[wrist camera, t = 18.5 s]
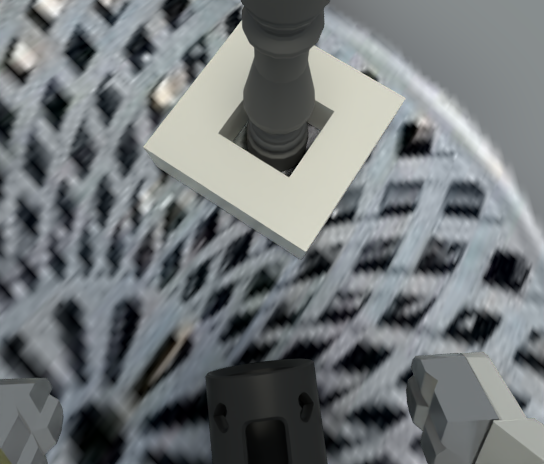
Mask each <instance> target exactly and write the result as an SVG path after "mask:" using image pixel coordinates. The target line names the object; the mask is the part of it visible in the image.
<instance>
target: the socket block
mask: <svg viewBox="0 0 544 464" xmlns="http://www.w3.org/2000/svg"><path fill="white" fill-rule="evenodd" d="M253 59H254V47H253V46H252V45H251V44H250V43H249V41H248V39H247V37H246V35H245V33H244V31H243V29H242V21H241V22H240V23H239V25H238V26H237V27H236V29H235V30H234V31H233V32H232V34H231V35H230V36H229V38H228V39H227V40H226V41H225V43H224V44H223V45H222V47H221V48H220V49H219V50H218V52H217V53H216V54H215V55H214V57H213V58H212V59H211V61H210V62H209V63H208V64H207V66H206V67H205V68H204V70H203V71H202V72H201V73H200V75H199V76H198V77H197V79H196V80H195V81H194V82H193V84H192V85H191V86H190V88H189V89H188V90H187V91H186V93H185V94H184V95H183V97H182V98H181V99H180V100H179V102H178V103H177V104H176V106H175V107H174V108H173V109H172V111H171V112H170V113H169V115H168V116H167V117H166V118H165V120H164V121H163V122H162V124H161V125H160V126H159V127H158V129H157V130H156V131H155V133H154V134H153V135H152V136H151V138H150V139H149V140H148V141H147V143H146V144H145V145H144V147H143V148H144V149H145V150H146V152H147V153H148V155H149V156H150V157H151V159H152V160H153V162H154V163H155V164H156V166H157V167H158V168H160V169H161V170H163V171H165V172H166V173H168V174H169V175H171V176H172V177H174V178H175V179H177V180H178V181H180V182H182V183H183V184H185V185H186V186H188V187H189V188H191V189H192V190H194V191H195V192H197V193H199V194H200V195H202V196H203V197H205V198H206V199H208V200H209V201H211V202H212V203H214V204H216V205H217V206H219V207H220V208H222V209H223V210H225V211H226V212H228V213H229V214H231V215H233V216H234V217H236V218H237V219H239V220H240V221H242V222H243V223H245V224H246V225H248V226H250V227H251V228H253V229H254V230H256V231H257V232H259V233H260V234H262V235H263V236H265V237H267V238H268V239H270V240H271V241H273V242H274V243H276V244H277V245H279V246H280V247H282V248H283V249H285V250H287V251H288V252H290V253H291V254H293V255H294V256H296V257H297V258H299V259H300V260H302V259H303V257H304V256H305V254H306V253H307V251H308V249H309V248H310V246H311V245H312V243H313V242H314V240H315V239H316V237H317V236H318V234H319V233H320V231H321V229H322V228H323V226H324V225H325V223H326V222H327V220H328V219H329V217H330V216H331V214H332V212H333V211H334V209H335V208H336V206H337V205H338V203H339V202H340V200H341V199H342V197H343V195H344V194H345V192H346V191H347V189H348V188H349V186H350V185H351V183H352V182H353V180H354V179H355V177H356V175H357V174H358V172H359V171H360V169H361V168H362V166H363V165H364V163H365V162H366V160H367V158H368V157H369V155H370V154H371V152H372V151H373V149H374V148H375V146H376V145H377V143H378V141H379V140H380V138H381V137H382V135H383V134H384V132H385V131H386V129H387V128H388V126H389V125H390V123H391V121H392V120H393V118H394V116H395V115H396V113H397V112H398V110H399V108H400V107H401V105H402V103H403V102H404V100H405V99H406V98H404V97H403V96H401V95H399V94H398V93H396V92H394V91H392V90H391V89H389V88H387V87H385V86H384V85H382V84H380V83H378V82H377V81H375V80H373V79H372V78H370V77H368V76H366V75H365V74H363V73H361V72H359V71H358V70H356V69H354V68H353V67H351V66H349V65H347V64H346V63H344V62H342V61H340V60H339V59H337V58H335V57H333V56H332V55H330V54H328V53H327V52H325V51H323V50H321V49H320V48H318V47H316V46H313V47H312V48H311V49H310V50H309V56H308V62H309V67H310V72H311V76H312V81H313V85H314V90H315V105H314V108H313V110H312V113H311V115H310V118H309V119H308V120H307V123H309V124H311V125H312V126H314V127H315V128H317V129H319V130H320V131H321V132H320V133H319V135H318V136H317V138H316V139H315V141H314V142H313V144H312V145H311V147H310V148H309V149H308V151H307V152H306V154H305V155H304V157H303V158H302V160H301V161H300V163H299V164H298V166H297V167H296V168H295V170H294V171H293V173H292V174H291V176H290V177H287V176H286V175H284V174H282V173H281V172H279V171H278V170H276V169H274V168H273V167H271V166H270V165H268V164H266V163H265V162H263V161H262V160H260V159H258V158H257V157H255V156H254V155H252V154H250V153H249V152H247V151H246V150H244V149H242V148H241V147H239V146H238V145H236V144H234V143H233V140H234V139H235V138H236V136H237V135H238V134H239V132H240V131H241V129H242V128H243V127H244V125H245V124H246V123H247V121H248V119H249V117H248V115H247V113H246V111H245V109H244V105H243V90H244V87H245V84H246V81H247V78H248V75H249V71H250V68H251V65H252V62H253Z"/></svg>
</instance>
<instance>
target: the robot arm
mask: <svg viewBox="0 0 544 464" xmlns="http://www.w3.org/2000/svg"><path fill="white" fill-rule="evenodd" d="M411 369H412V371H413V374H414V375H413V376H412V377H411V378H410V379H409V380H408V383H407V388H406V394H407V404H408V409H409V413H410V416H411V418H412V421H413V423H414V424H415V425H416V426H417V427H418V428H420V429H421V430H422V431H423V432H422V436H421V440H420V444H421V447H422V449H423V452H424V455H425V458H426V461H427V463H428V464H544V425H543V424H542V423H540V422H539V421H537V420H536V419H535V418H527V417H526V416H525V414H524V413H523V411H522V409H521V408H520V406H519V405H518V403H517V401H516V400H515V398H514V396H513V395H512V393H511V392H510V390H509V388H508V387H507V385H506V384H505V382H504V380H503V379H502V377H501V376H500V374H499V372H498V371H497V369H496V367H495V366H494V364H493V363H492V361H491V359H490V358H489V356H488V355H487V354H485V353H484V352H474V353H460V354H459V353H450V354H436V355H422V356H415V357H414V358H413V360H412V364H411ZM51 389H52V386H51V384H50V382H49V381H48V379H47V378H25V379H0V464H48V462H47V459H46V456H45V454H46V453H47V452H48V451H49V450H51V449H52V448H53V447H54V446H55V445H56V444H57V441H58V439H59V436H60V434H61V431H62V424H63V410H62V406H61V404H60V402H59V400H58V399H56V398H54V397H53V396H51V395H49V394H50V392H51Z"/></svg>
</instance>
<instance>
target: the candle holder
mask: <svg viewBox="0 0 544 464" xmlns="http://www.w3.org/2000/svg"><path fill="white" fill-rule="evenodd" d="M241 2H242V4H243V5H244V7H243V9H242V29H243V31H244V33H245V35H246V37H247V39H248V41H249V43H250V44H251V45H252V46H253V47H254V59H253V62H252V65H251V68H250V71H249V75H248V78H247V81H246V84H245V87H244V90H243V105H244V109H245V111H246V113H247V115H248V117H249V119H248V124H247V144H248V151H249V153H250V154H252V155H254V156H255V157H257V158H258V159H260V160H262V161H263V162H265V163H266V164H268V165H270V166H271V167H273V168H274V169H276V170H278V171H285V170H288V169H290V168H293V167H294V166H295V165H296V164H297V163H298V162H299V161H300V160H301V159H302V157H303V154H304V151H305V149H306V144H307V139H308V124H307V120H308V119H309V118H310V115H311V113H312V110H313V108H314V105H315V90H314V85H313V81H312V76H311V72H310V67H309V62H308V56H309V50H310V49H311V48H312V47H313V46H314V45H315V44H316V43H317V42H318V40H319V38H320V35H321V33H322V30H323V28H324V7H325V6H326V5H327V4H328V3H329V2H330V0H241Z"/></svg>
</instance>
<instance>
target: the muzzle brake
mask: <svg viewBox="0 0 544 464" xmlns="http://www.w3.org/2000/svg"><path fill="white" fill-rule="evenodd" d="M205 378H206V390H207V402H208V415H209V427H210V439H211V451H212V463H213V464H328V463H327V456H326V448H325V441H324V434H323V426H322V419H321V412H320V405H319V397H318V390H317V382H316V375H315V368H314V362H313V361H312V360H310V359H285V360H274V361H265V362H257V363H250V364H243V365H237V366H232V367H227V368H223V369H218V370H215V371H212V372H209V373H208V374H207V375H206V376H205Z"/></svg>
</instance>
